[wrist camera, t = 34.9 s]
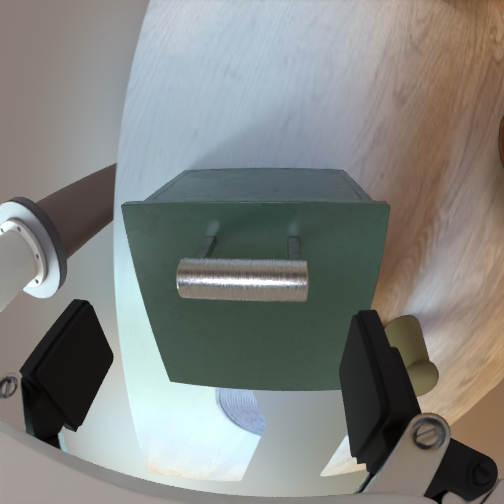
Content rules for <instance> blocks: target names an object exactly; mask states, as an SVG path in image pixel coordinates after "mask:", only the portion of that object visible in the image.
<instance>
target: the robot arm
mask: <svg viewBox="0 0 504 504" xmlns="http://www.w3.org/2000/svg"><path fill="white" fill-rule="evenodd" d="M46 272H47V267H46V260H45V256H44V253H43V250H42V248H41V246H40V244H39V242H38V240H37V238H36V237H35V235H34V234H33V232H32V231H31V230H30V229H29V228H28V227H27V226H26V225H25V224H24V223H22V222H21V221H19V220H16V219H8V220H7V221H5V222H3V223H2V225H1V226H0V312H1V311H2V310H3V309H4V308H5V307H6V306H7V305H8V303H10V302H11V301H12V300H13V298H14V297H16V296H17V295H18V293H20V291H22V290H23V289H24V288H25V287H26V286H27V287H31V288H35V287H38V286H39V285H41V284H42V283H43V281H44V280H45V277H46ZM113 357H114V356H113V353H112V350H111V348H110V346H109V344H108V342H107V339H106V337H105V335H104V332H103V330H102V328H101V326H100V323H99V321H98V318H97V316H96V313H95V311H94V308H93V306H92V305H90V303H89V302H88V301H86V300H79V299H74V300H73V301H72V302H71V303H70V304H69V306H68V307H67V308H66V309H65V310H64V312H63V313H62V314H61V315H60V317H59V318H58V319H57V320H56V322H55V323H54V324H53V326H52V327H51V328H50V329H49V331H48V332H47V333H46V334H45V336H44V337H43V339H42V340H41V341H40V343H39V344H38V345H37V346H36V348H35V349H34V351H33V352H32V353H31V355H30V356H29V358H28V359H27V360H26V362H25V363H24V365H23V366H22V368H21V369H20V370H19V371H20V373H21V374H22V376H23V377H22V378H20V377H19V376H18V375H17V374H16V373H6V374H4V375H3V376H1V377H0V504H504V478H501V479H500V480H499V479H498V478H497V477H498V470H497V466H496V463H495V462H494V461H493V459H491V458H490V457H488V456H486V455H484V454H482V453H480V452H478V451H476V450H474V449H472V448H470V447H468V446H466V445H464V444H462V443H460V442H458V441H456V440H454V439H452V438H451V433H450V427H449V425H448V423H447V422H446V420H445V419H444V418H443V417H441V416H439V415H438V414H434V413H421V410H420V407H419V404H418V401H417V398H416V395H415V392H414V389H413V386H412V383H411V381H410V378H409V375H408V372H407V370H406V367H405V364H404V362H403V359H402V357H401V354H400V352H399V350H398V348H397V347H391V346H390V343H389V341H388V338H387V336H386V333H385V330H384V328H383V325H382V323H381V321H380V318H379V316H378V313H377V311H376V310H359V311H358V313H357V315H353V316H352V319H351V324H350V328H349V332H348V336H347V340H346V344H345V348H344V352H343V356H342V359H341V363H340V367H339V378H340V384H341V390H342V396H343V402H344V407H345V415H346V422H347V428H348V436H349V444H350V452H351V456H352V457H356V458H357V464H362V463H366V469H367V471H368V472H369V473H368V474H367V476H366V477H365V479H364V480H363V481H362V483H361V484H360V485H359V487H358V488H357V489H356V490H355V492H354V493H353V494H344V495H329V496H314V497H254V496H238V495H227V494H217V493H210V492H203V491H196V490H190V489H184V488H179V487H174V486H169V485H164V484H160V483H155V482H151V481H147V480H144V479H140V478H136V477H133V476H129V475H126V474H122V473H119V472H116V471H113V470H110V469H107V468H104V467H101V466H99V465H96V464H93V463H91V462H88V461H85V460H82V459H80V458H78V457H76V456H73V455H70V454H68V452H67V448H66V445H65V441H64V438H63V434H62V430H61V429H62V427H63V426H64V427H65V428H66V429H69V430H72V431H74V432H76V431H77V429H78V427H79V426H81V425H82V423H83V421H84V419H85V417H86V415H87V413H88V410H89V408H90V406H91V404H92V402H93V400H94V398H95V396H96V394H97V392H98V390H99V388H100V386H101V384H102V382H103V380H104V378H105V376H106V374H107V372H108V370H109V368H110V366H111V364H112V362H113Z"/></svg>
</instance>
